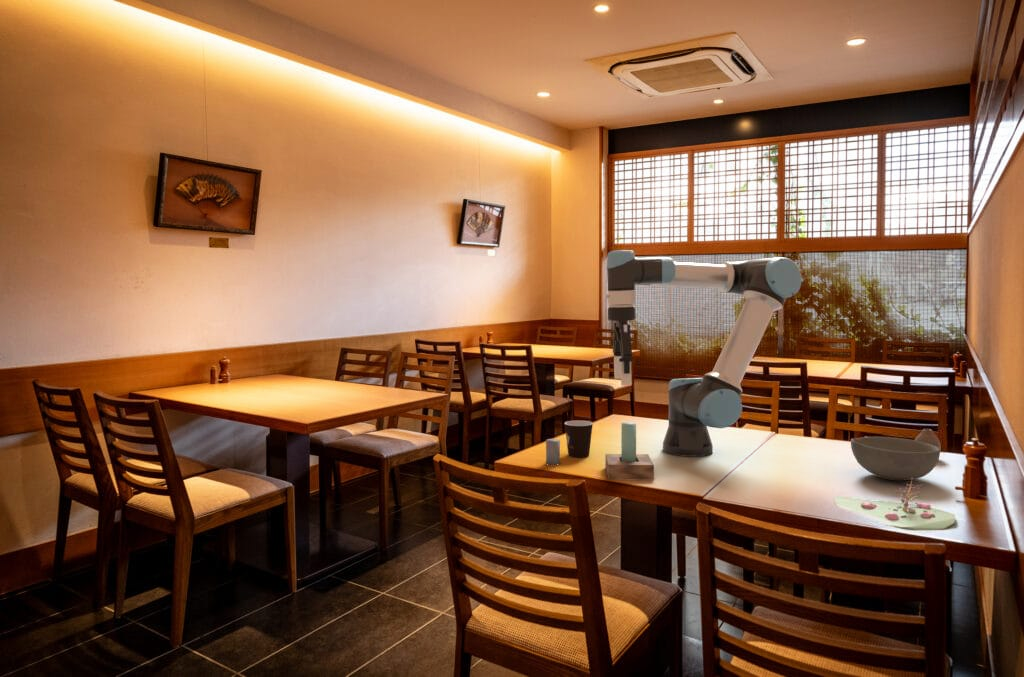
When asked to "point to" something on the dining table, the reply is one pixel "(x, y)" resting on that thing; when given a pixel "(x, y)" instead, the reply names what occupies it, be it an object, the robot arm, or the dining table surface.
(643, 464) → the socket block
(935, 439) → the vase
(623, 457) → the teal dowel
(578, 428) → the coffee mug
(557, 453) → the grey-blue block
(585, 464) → the dining table surface
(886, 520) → the plant
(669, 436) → the robot arm
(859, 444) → the bowl
